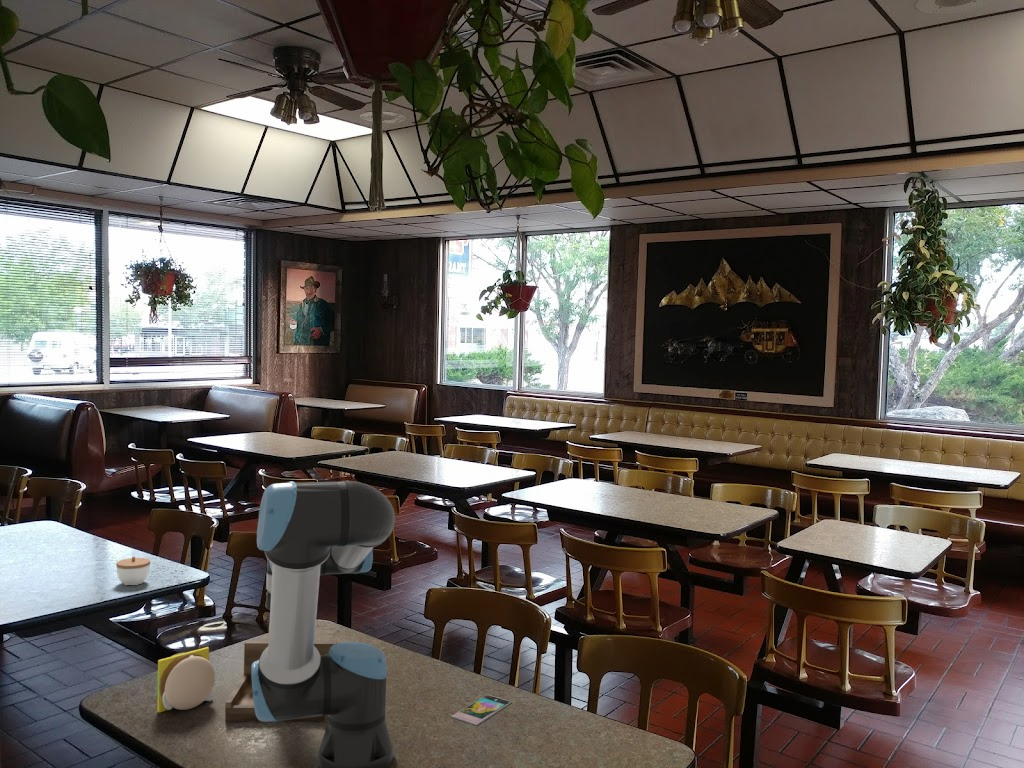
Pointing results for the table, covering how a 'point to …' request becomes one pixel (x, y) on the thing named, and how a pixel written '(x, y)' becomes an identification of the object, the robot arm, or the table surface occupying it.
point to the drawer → (242, 695)
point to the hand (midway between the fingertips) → (281, 685)
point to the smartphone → (481, 710)
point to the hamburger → (184, 680)
